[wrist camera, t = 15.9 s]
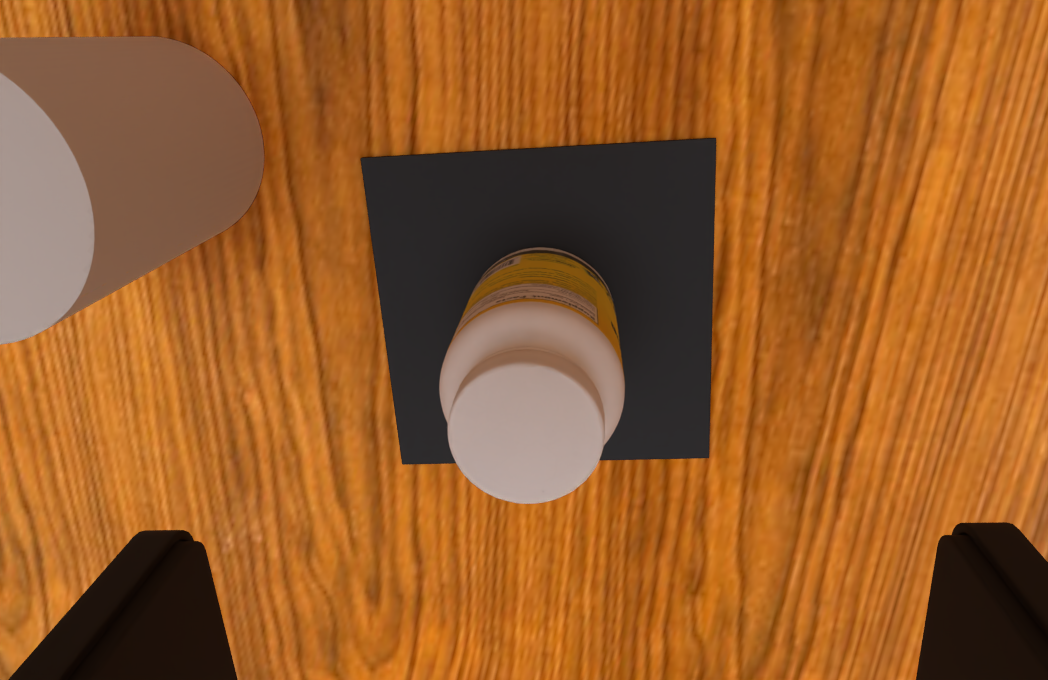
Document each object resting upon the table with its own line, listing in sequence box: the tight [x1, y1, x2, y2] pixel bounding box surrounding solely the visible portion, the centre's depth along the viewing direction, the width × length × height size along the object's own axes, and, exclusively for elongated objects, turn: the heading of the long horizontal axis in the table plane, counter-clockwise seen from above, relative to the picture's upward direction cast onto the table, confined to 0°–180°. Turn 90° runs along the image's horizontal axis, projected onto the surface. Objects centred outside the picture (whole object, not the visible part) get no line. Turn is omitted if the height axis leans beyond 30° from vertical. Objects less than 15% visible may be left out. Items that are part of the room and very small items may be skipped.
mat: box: [361, 138, 716, 464], centre depth 34 cm, size 14×14×1 cm
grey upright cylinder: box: [0, 36, 264, 344], centre depth 27 cm, size 8×8×12 cm
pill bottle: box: [439, 247, 625, 504], centre depth 28 cm, size 6×6×11 cm
